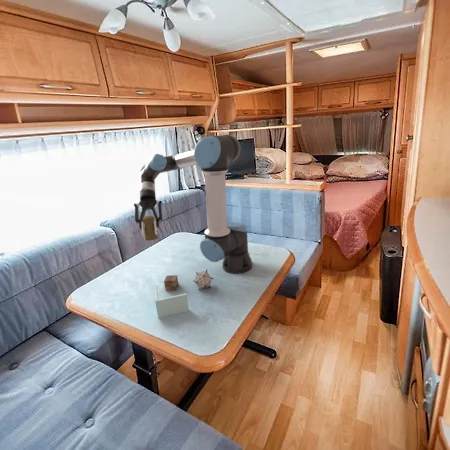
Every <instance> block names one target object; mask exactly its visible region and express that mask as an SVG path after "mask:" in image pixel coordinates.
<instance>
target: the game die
mask: <svg viewBox="0 0 450 450" xmlns="http://www.w3.org/2000/svg"><path fill="white" fill-rule="evenodd" d="M195 273H196V276H195V278H194V280H193V281H192V282H194V283H195V284H196V285H197V287H198V288H199V289H198V291H200V290H201V289H205V288H210V289H211V286H210V285H211V282H212V280H214V277H211V274H209V273H208V269H206V270H205V271H200V272H198V271H195Z"/></svg>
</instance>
